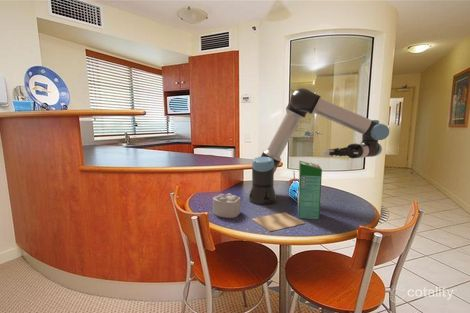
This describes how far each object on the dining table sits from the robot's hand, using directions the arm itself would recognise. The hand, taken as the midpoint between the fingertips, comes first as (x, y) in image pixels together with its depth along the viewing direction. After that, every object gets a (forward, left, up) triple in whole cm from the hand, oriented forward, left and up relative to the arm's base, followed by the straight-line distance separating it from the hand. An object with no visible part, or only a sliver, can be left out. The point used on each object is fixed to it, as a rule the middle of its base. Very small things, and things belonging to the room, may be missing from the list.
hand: (323, 153), depth 116 cm
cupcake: (-21, +31, -28) cm, 47 cm away
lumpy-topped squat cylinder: (-39, -25, -28) cm, 54 cm away
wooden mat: (-14, -23, -28) cm, 39 cm away
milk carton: (-4, -9, -28) cm, 30 cm away
